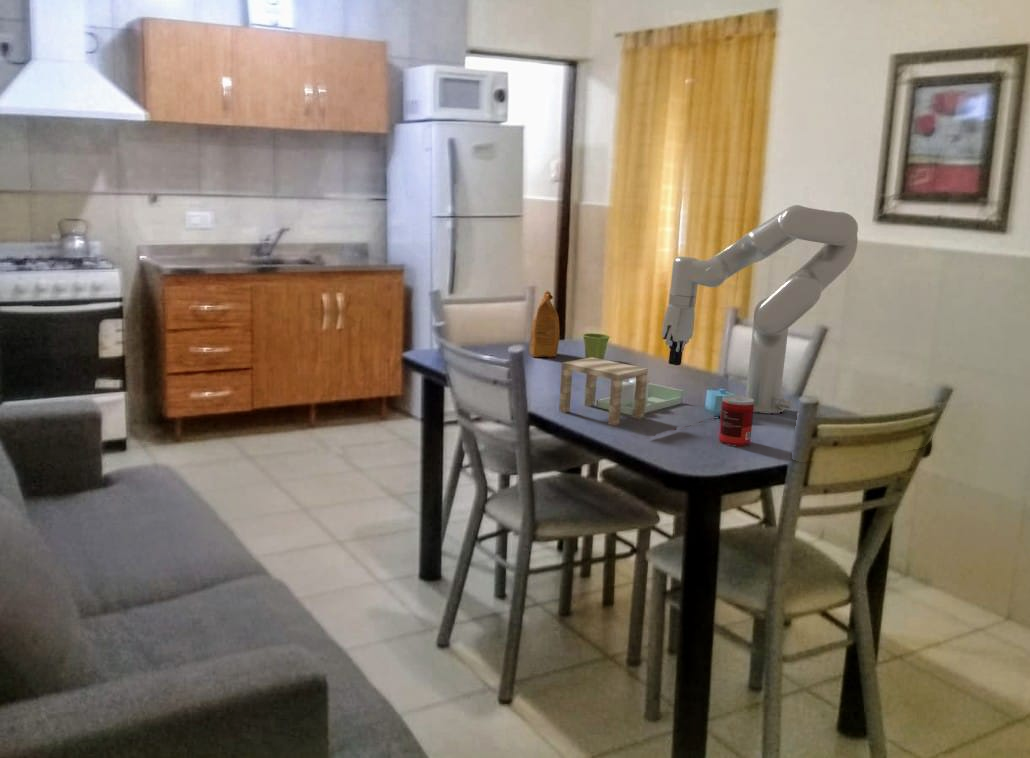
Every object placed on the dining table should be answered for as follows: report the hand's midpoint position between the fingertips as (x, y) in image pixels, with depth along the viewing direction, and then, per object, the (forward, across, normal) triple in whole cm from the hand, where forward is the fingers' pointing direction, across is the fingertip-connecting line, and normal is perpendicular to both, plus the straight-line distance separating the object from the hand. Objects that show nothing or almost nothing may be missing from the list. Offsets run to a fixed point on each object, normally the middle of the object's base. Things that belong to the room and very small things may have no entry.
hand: (674, 364), depth 281 cm
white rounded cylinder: (+10, +25, +1) cm, 27 cm away
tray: (+10, +17, +1) cm, 20 cm away
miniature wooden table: (+11, +35, +1) cm, 37 cm away
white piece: (+10, +19, +1) cm, 21 cm away
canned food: (+10, +28, +36) cm, 46 cm away
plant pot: (+12, -28, -49) cm, 58 cm away
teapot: (+10, +6, +19) cm, 22 cm away
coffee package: (+12, -20, -65) cm, 69 cm away
